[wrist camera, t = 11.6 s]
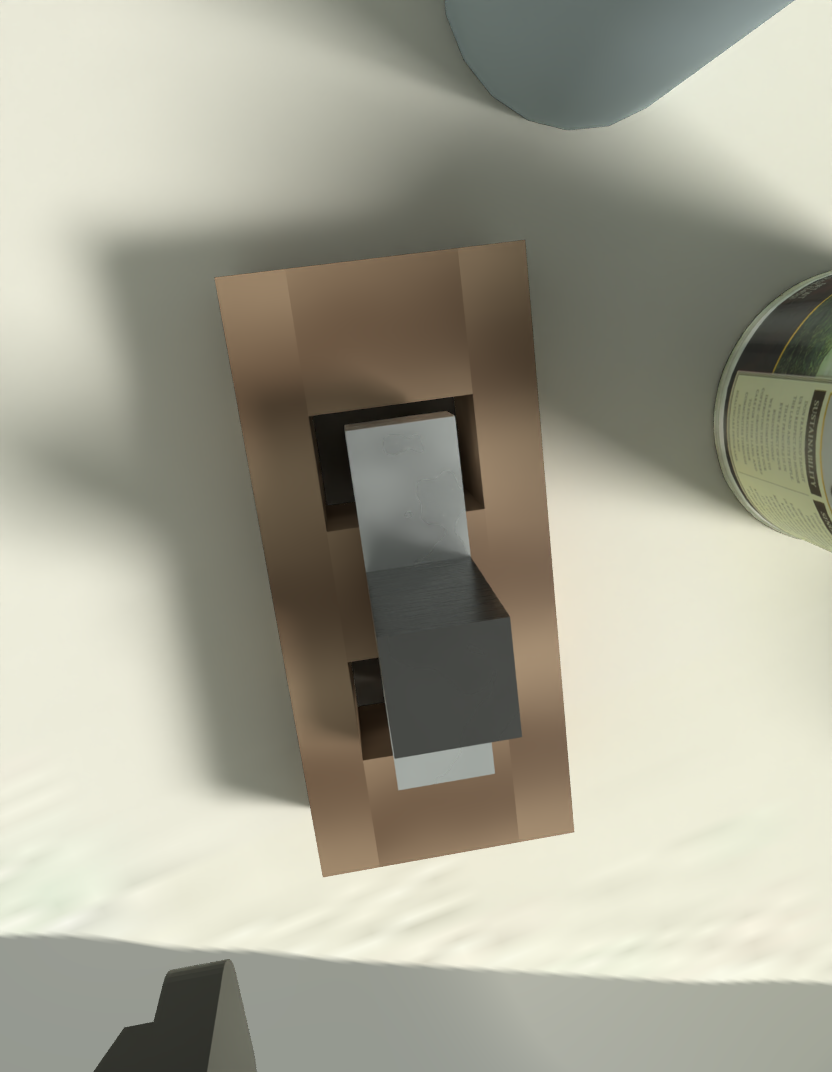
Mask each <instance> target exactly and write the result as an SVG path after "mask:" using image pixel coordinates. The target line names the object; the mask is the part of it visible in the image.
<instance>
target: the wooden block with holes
mask: <svg viewBox="0 0 832 1072" xmlns="http://www.w3.org/2000/svg"><path fill="white" fill-rule="evenodd" d="M214 278H215V284H216V289H217V295H218V300H219V306H220V311H221V317H222V322H223V328H224V333H225V339H226V345H227V350H228V356H229V361H230V367H231V372H232V378H233V383H234V389H235V394H236V400H237V405H238V411H239V416H240V422H241V427H242V433H243V438H244V444H245V449H246V455H247V461H248V466H249V472H250V477H251V483H252V488H253V494H254V499H255V505H256V510H257V516H258V521H259V527H260V532H261V538H262V543H263V549H264V554H265V560H266V565H267V571H268V577H269V582H270V588H271V593H272V599H273V604H274V610H275V615H276V621H277V626H278V632H279V637H280V643H281V648H282V654H283V659H284V665H285V670H286V676H287V682H288V687H289V693H290V698H291V704H292V709H293V715H294V720H295V726H296V731H297V737H298V742H299V748H300V753H301V759H302V764H303V770H304V775H305V781H306V786H307V792H308V798H309V803H310V809H311V814H312V820H313V825H314V831H315V836H316V842H317V847H318V853H319V858H320V864H321V869H322V875H323V877H327V876H333V875H338V874H344V873H350V872H355V871H361V870H366V869H372V868H377V867H383V866H389V865H394V864H400V863H405V862H411V861H416V860H422V859H428V858H433V857H439V856H444V855H450V854H455V853H461V852H466V851H472V850H478V849H483V848H489V847H494V846H500V845H505V844H511V843H517V842H522V841H528V840H533V839H539V838H544V837H550V836H556V835H561V834H567V833H572V832H574V823H573V811H572V799H571V787H570V775H569V763H568V751H567V739H566V727H565V715H564V703H563V691H562V679H561V667H560V654H559V642H558V630H557V618H556V606H555V594H554V582H553V570H552V558H551V546H550V534H549V522H548V510H547V498H546V485H545V473H544V461H543V449H542V437H541V425H540V413H539V401H538V389H537V377H536V365H535V353H534V341H533V329H532V317H531V304H530V292H529V280H528V268H527V256H526V244H525V240H520V241H512V242H503V243H495V244H487V245H479V246H470V247H462V248H454V249H446V250H437V251H429V252H421V253H413V254H404V255H396V256H388V257H379V258H371V259H363V260H355V261H346V262H338V263H330V264H322V265H313V266H305V267H297V268H289V269H280V270H272V271H264V272H256V273H247V274H239V275H231V276H223V277H214ZM447 397H454V404H455V413H456V422H457V431H458V440H459V449H460V458H461V467H462V476H463V485H464V486H463V492H464V501H465V510H466V519H467V528H468V537H469V546H470V555H471V558H472V559H473V561H474V562H475V564H476V565H477V567H478V568H479V570H480V571H481V573H482V575H483V576H484V578H485V579H486V581H487V582H488V584H489V585H490V587H491V588H492V590H493V591H494V593H495V594H496V596H497V597H498V599H499V601H500V602H501V604H502V605H503V607H504V608H505V610H506V611H507V613H508V614H509V616H510V621H511V631H512V641H513V651H514V660H515V670H516V680H517V690H518V700H519V710H520V720H521V730H522V737H520V738H514V739H509V740H503V741H497V742H492V751H493V760H494V769H495V774H490V775H484V776H479V777H473V778H467V779H461V780H456V781H450V782H444V783H438V784H432V785H427V786H421V787H415V788H409V789H404V790H398V784H397V778H396V771H395V765H394V758H393V751H392V745H391V738H390V732H389V725H388V719H387V712H386V706H385V703H379V704H373V705H366V706H360V707H358V700H357V694H356V688H355V681H354V675H353V669H352V662H353V661H359V660H366V659H372V658H378V651H377V644H376V637H375V630H374V624H373V617H372V610H371V603H370V597H369V590H368V583H367V577H366V570H365V563H364V556H363V550H362V543H361V536H360V530H359V523H358V516H357V509H356V503H355V502H349V503H342V504H335V505H328V506H327V503H326V497H325V490H324V484H323V478H322V471H321V465H320V458H319V452H318V446H317V439H316V433H315V427H314V420H313V416H314V415H321V414H329V413H336V412H343V411H351V410H358V409H366V408H373V407H380V406H388V405H395V404H403V403H410V402H417V401H425V400H432V399H439V398H447Z"/></svg>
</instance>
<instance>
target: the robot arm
mask: <svg viewBox="0 0 832 1072" xmlns="http://www.w3.org/2000/svg"><path fill="white" fill-rule="evenodd" d="M94 1072H256V1063H255V1056H254V1051H253V1046H252V1042H251V1038H250V1033H249V1029H248V1025H247V1020H246V1016H245V1012H244V1007H243V1003H242V998H241V994H240V989H239V985H238V981H237V977H236V972H235V968H234V965H233V963H232V961H231V960H230V959H227V960H221V961H216V962H210V963H206V964H200V965H194V966H189V967H184V968H179V969H173V970H170V971H169V972H168V973H167V974H166V977H165V979H164V983H163V986H162V991H161V994H160V998H159V1003H158V1006H157V1011H156V1014H155V1019H154V1022H151V1023H145V1024H140V1025H135V1026H130V1027H125V1028H124V1029H123V1030H122V1032H121V1033H120V1035H119V1036H118V1037H117V1039H116V1040H115V1042H114V1043H113V1044H112V1046H111V1047H110V1049H109V1050H108V1052H107V1053H106V1055H105V1056H104V1057H103V1059H102V1060H101V1062H100V1063H99V1064H98V1066H97V1067H96V1069H95V1070H94Z"/></svg>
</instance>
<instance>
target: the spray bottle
mask: <svg viewBox="0 0 832 1072" xmlns="http://www.w3.org/2000/svg"><path fill="white" fill-rule="evenodd" d="M793 1H794V0H445V10H446V16H447V18H448V21H449V23H450V26H451V29H452V31H453V34H454V36H455V39H456V41H457V44H458V46H459V49H460V52H461V54H462V57H463V59H464V61H465V62H466V63H467V65H468V66H469V67H470V68H471V70H472V71H473V72H474V74H475V75H476V76H477V77H478V79H479V80H480V81H481V83H482V84H483V85H484V86H485V88H486V89H487V90H488V91H489V93H490V94H491V95H492V96H493V97H494V98H496V99H497V100H499V101H500V102H502V103H503V104H505V105H506V106H508V107H509V108H511V109H512V110H514V111H515V112H517V113H518V114H520V115H521V116H523V117H524V118H526V119H527V120H530V121H534V122H538V123H541V124H545V125H549V126H553V127H557V128H561V129H565V130H575V129H585V128H594V127H603V126H610V125H612V124H614V123H616V122H618V121H620V120H622V119H624V118H626V117H628V116H630V115H633V114H635V113H637V112H639V111H641V110H643V109H645V108H647V107H648V106H650V105H651V104H653V103H654V102H655V101H657V100H658V99H659V98H661V97H662V96H664V95H665V94H666V93H668V92H669V91H670V90H672V89H673V88H675V87H676V86H677V85H679V84H680V83H681V82H683V81H684V80H686V79H687V78H688V77H690V76H691V75H692V74H694V73H695V72H697V71H698V70H699V69H701V68H702V67H703V66H705V65H706V64H708V63H709V62H710V61H712V60H713V59H714V58H716V57H717V56H719V55H720V54H721V53H723V52H724V51H725V50H727V49H728V48H730V47H731V46H732V45H734V44H735V43H736V42H738V41H739V40H741V39H742V38H743V37H745V36H746V35H747V34H749V33H750V32H752V31H753V30H754V29H756V28H757V27H758V26H760V25H761V24H763V23H764V22H765V21H767V20H768V19H769V18H771V17H772V16H774V15H775V14H776V13H778V12H779V11H780V10H782V9H783V8H785V7H786V6H787V5H789V4H790V3H791V2H793Z"/></svg>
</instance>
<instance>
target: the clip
mask: <svg viewBox="0 0 832 1072" xmlns="http://www.w3.org/2000/svg"><path fill="white" fill-rule="evenodd" d="M344 429H345V430H344V432H345V439H346V445H347V452H348V459H349V465H350V472H351V478H352V485H353V491H354V497H355V503H356V509H357V516H358V523H359V530H360V536H361V543H362V550H363V556H364V563H365V570H366V577H367V583H368V590H369V597H370V603H371V610H372V617H373V624H374V630H375V637H376V644H377V651H378V660H379V667H380V674H381V680H382V687H383V693H384V699H385V706H386V712H387V719H388V725H389V732H390V738H391V745H392V751H393V758H394V765H395V771H396V778H397V784H398V790H404V789H409V788H415V787H421V786H427V785H432V784H438V783H444V782H450V781H456V780H461V779H467V778H473V777H479V776H484V775H490V774H495V769H494V760H493V751H492V742H497V741H503V740H509V739H514V738H520V737H522V730H521V720H520V710H519V700H518V690H517V680H516V670H515V660H514V651H513V641H512V631H511V621H510V616H509V614H508V613H507V611H506V610H505V608H504V607H503V605H502V604H501V602H500V601H499V599H498V597H497V596H496V594H495V593H494V591H493V590H492V588H491V587H490V585H489V584H488V582H487V581H486V579H485V578H484V576H483V575H482V573H481V571H480V570H479V568H478V567H477V565H476V564H475V562H474V561H473V559H472V558H471V555H470V546H469V537H468V528H467V519H466V510H465V501H464V492H463V483H462V474H461V465H460V457H459V448H458V439H457V430H456V421H455V416H454V415H452V414H451V413H449V412H447V411H441V412H434V413H427V414H420V415H413V416H405V417H398V418H391V419H384V420H376V421H369V422H362V423H355V424H347V425H344Z"/></svg>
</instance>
